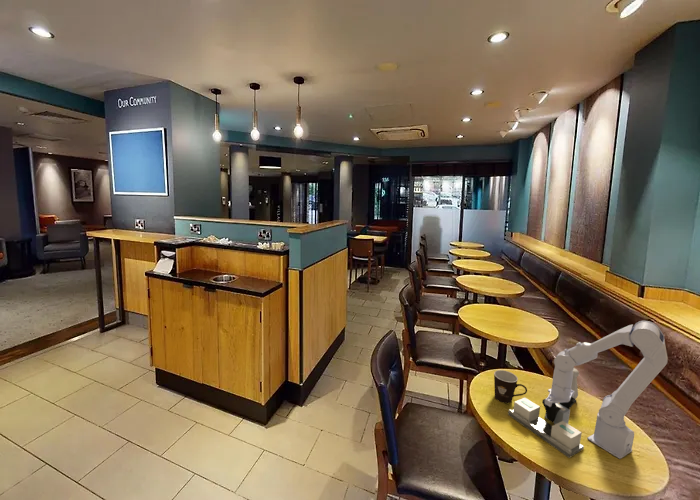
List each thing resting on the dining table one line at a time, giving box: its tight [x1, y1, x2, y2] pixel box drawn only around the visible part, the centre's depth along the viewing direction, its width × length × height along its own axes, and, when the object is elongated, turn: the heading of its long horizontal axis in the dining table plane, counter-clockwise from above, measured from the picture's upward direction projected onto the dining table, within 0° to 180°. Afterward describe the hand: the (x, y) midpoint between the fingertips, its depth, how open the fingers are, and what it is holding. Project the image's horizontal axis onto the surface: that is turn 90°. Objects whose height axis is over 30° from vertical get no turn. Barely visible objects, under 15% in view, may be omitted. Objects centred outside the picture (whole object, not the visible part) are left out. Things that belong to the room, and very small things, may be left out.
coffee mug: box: [493, 369, 528, 404], centre depth 127 cm, size 12×9×10 cm
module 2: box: [551, 421, 583, 450], centre depth 105 cm, size 6×6×5 cm
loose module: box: [544, 403, 571, 425], centre depth 117 cm, size 6×4×6 cm, turn 27°
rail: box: [507, 408, 585, 459], centre depth 112 cm, size 22×8×2 cm, turn 27°
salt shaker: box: [571, 367, 580, 400], centre depth 129 cm, size 6×6×13 cm
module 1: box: [512, 397, 541, 422], centre depth 118 cm, size 6×6×5 cm
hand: (556, 417), depth 117 cm, fingers open, 7 cm apart
